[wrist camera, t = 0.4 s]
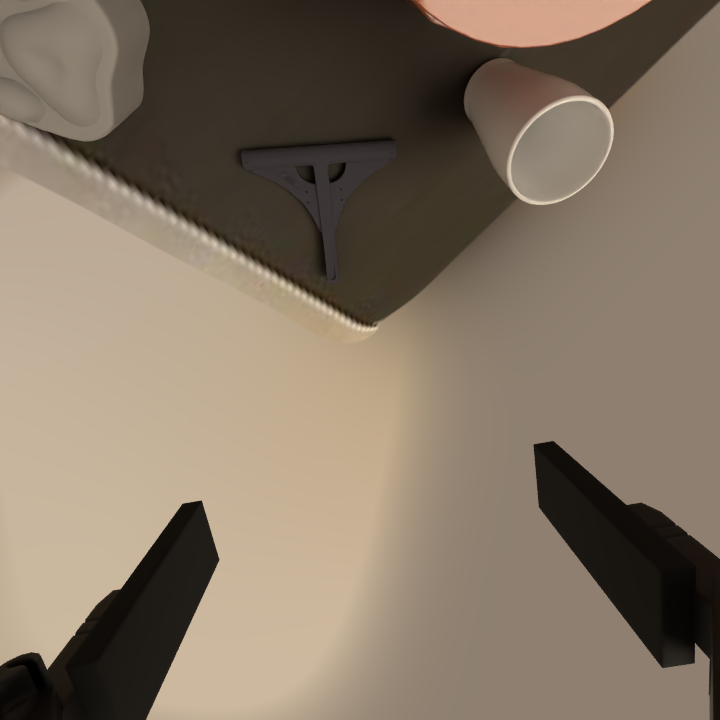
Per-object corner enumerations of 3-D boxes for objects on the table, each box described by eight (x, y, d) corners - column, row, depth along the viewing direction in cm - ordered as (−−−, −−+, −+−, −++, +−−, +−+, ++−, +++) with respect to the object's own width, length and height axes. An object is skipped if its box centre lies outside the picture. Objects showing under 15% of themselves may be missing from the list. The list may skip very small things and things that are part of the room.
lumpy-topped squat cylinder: (139, 129, 36) (103, 166, 30) (-41, 50, 32) (-126, 76, 26) (154, -11, 30) (112, 2, 24) (-71, -137, 25) (-194, -160, 19)
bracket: (274, 278, 49) (272, 292, 47) (242, 147, 38) (238, 159, 36) (392, 269, 49) (395, 282, 47) (394, 136, 38) (398, 147, 36)
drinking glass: (542, 96, 36) (629, 159, 26) (476, 150, 39) (530, 225, 29) (510, 24, 33) (596, 64, 22) (439, 89, 36) (486, 151, 25)
